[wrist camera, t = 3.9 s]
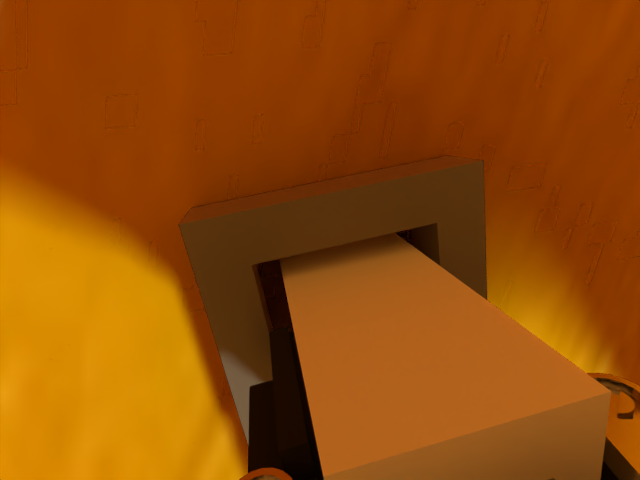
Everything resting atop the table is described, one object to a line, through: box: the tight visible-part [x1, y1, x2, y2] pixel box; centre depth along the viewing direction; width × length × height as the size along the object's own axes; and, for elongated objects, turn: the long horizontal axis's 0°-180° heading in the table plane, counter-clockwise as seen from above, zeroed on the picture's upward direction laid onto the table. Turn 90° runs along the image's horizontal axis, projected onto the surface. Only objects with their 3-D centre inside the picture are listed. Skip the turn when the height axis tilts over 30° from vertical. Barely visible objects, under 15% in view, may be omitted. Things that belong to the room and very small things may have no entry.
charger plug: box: [279, 233, 611, 480], centre depth 9 cm, size 4×5×8 cm
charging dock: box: [179, 156, 487, 446], centre depth 13 cm, size 8×21×4 cm, turn 10°
